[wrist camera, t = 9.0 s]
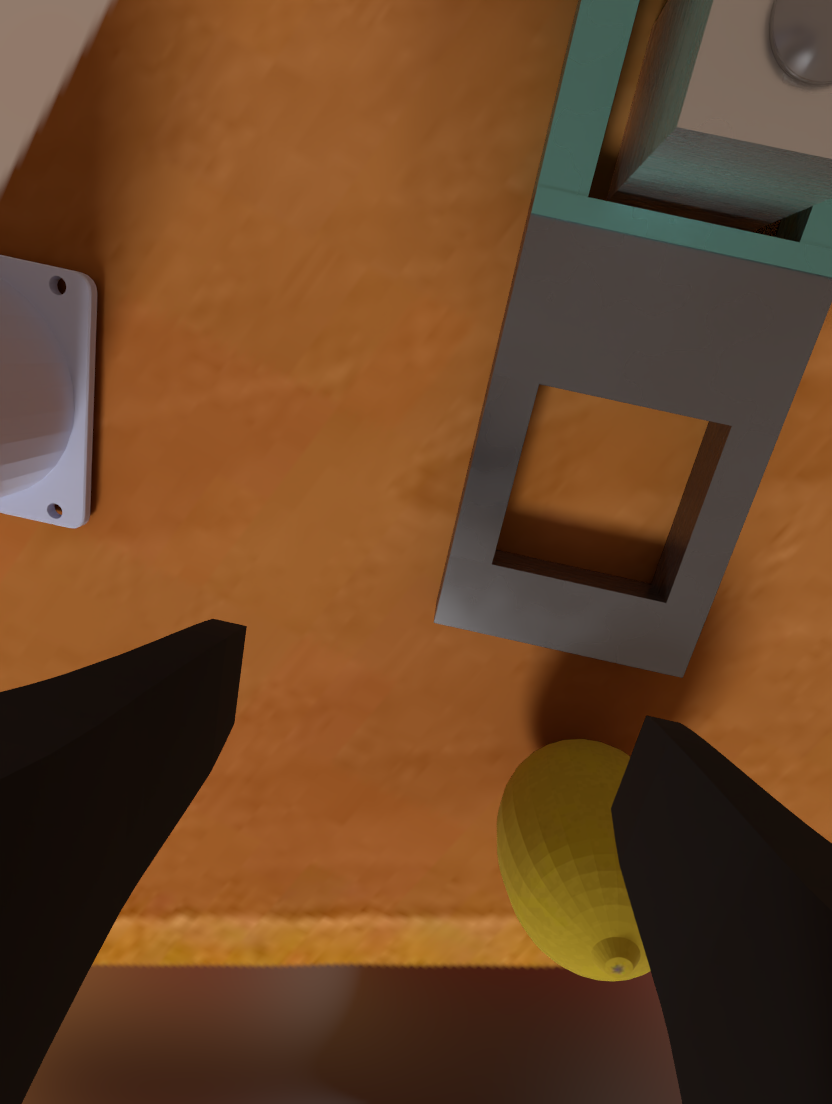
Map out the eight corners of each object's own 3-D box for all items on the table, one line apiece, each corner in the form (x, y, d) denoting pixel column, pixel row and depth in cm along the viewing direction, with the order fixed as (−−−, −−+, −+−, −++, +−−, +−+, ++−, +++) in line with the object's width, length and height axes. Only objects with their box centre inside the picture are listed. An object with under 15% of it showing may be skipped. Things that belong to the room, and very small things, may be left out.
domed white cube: (605, 203, 17) (680, 123, 11) (651, 28, 16) (765, -169, 10) (748, 232, 17) (901, 168, 11) (807, 59, 15) (1015, -119, 10)
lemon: (558, 666, 21) (609, 840, 14) (678, 752, 22) (790, 964, 14) (461, 769, 23) (458, 976, 15) (575, 846, 24) (627, 1082, 16)
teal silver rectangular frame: (436, 602, 21) (433, 623, 19) (616, -161, 14) (634, -225, 13) (666, 654, 21) (683, 679, 19) (950, -91, 14) (1011, -147, 13)
